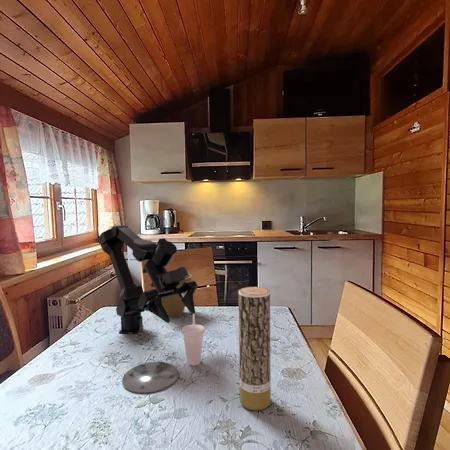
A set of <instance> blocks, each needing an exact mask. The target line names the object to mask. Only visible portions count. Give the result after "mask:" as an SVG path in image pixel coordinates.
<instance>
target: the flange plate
mask: <svg viewBox="0 0 450 450" xmlns="http://www.w3.org/2000/svg"><path fill="white" fill-rule="evenodd" d="M179 373H180V372H179V369H178V368H177V367H176V366H175V365H173V364H172V363H169V362H163V361H151V362H145V363H141V364H138V365H136V366H134V367H133V368H130V369H128V371H126V372H125V373H124V375H123V376H122V379H121V380H122V387H123V388H124V389H125V390H127V391H129V392H131V393H133V394H134V393H135V394H152V393H153V394H154V393H157V392H160V391H163V390H166V389H168V388H169V387H171V386H173V385H174V384H175V383H176V382H177V381H178V379H179V375H180V374H179Z"/></svg>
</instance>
